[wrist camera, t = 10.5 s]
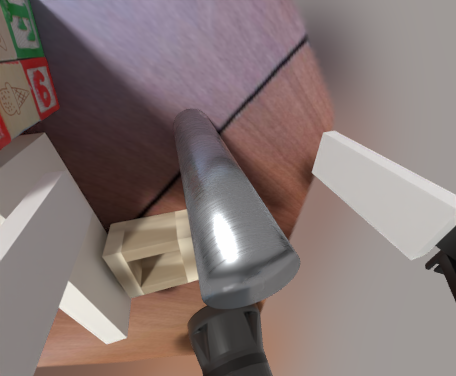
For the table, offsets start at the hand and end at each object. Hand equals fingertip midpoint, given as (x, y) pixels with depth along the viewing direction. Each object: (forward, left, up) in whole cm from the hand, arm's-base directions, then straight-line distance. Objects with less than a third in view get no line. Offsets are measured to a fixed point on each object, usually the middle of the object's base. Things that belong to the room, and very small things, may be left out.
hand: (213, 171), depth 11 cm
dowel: (0, 0, -8) cm, 8 cm away
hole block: (-13, +6, -8) cm, 16 cm away
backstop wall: (-9, +12, -8) cm, 17 cm away
